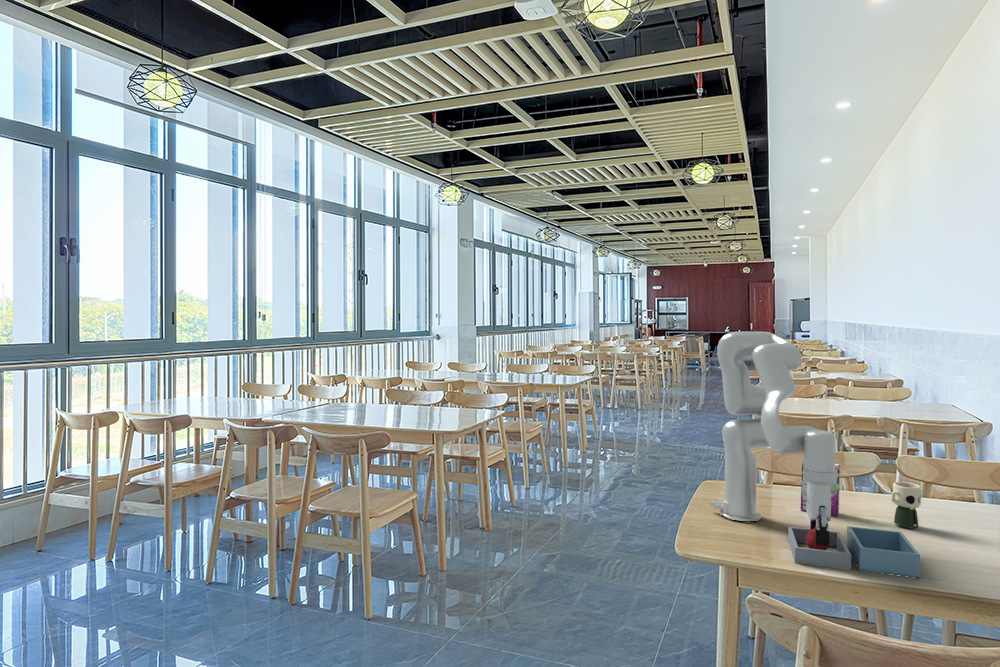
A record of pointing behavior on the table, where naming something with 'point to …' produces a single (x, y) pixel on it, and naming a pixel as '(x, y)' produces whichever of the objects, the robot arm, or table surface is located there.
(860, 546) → the blue bin
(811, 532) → the onion
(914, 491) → the character mug
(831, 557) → the grey crate
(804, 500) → the candy bar box
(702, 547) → the table surface
